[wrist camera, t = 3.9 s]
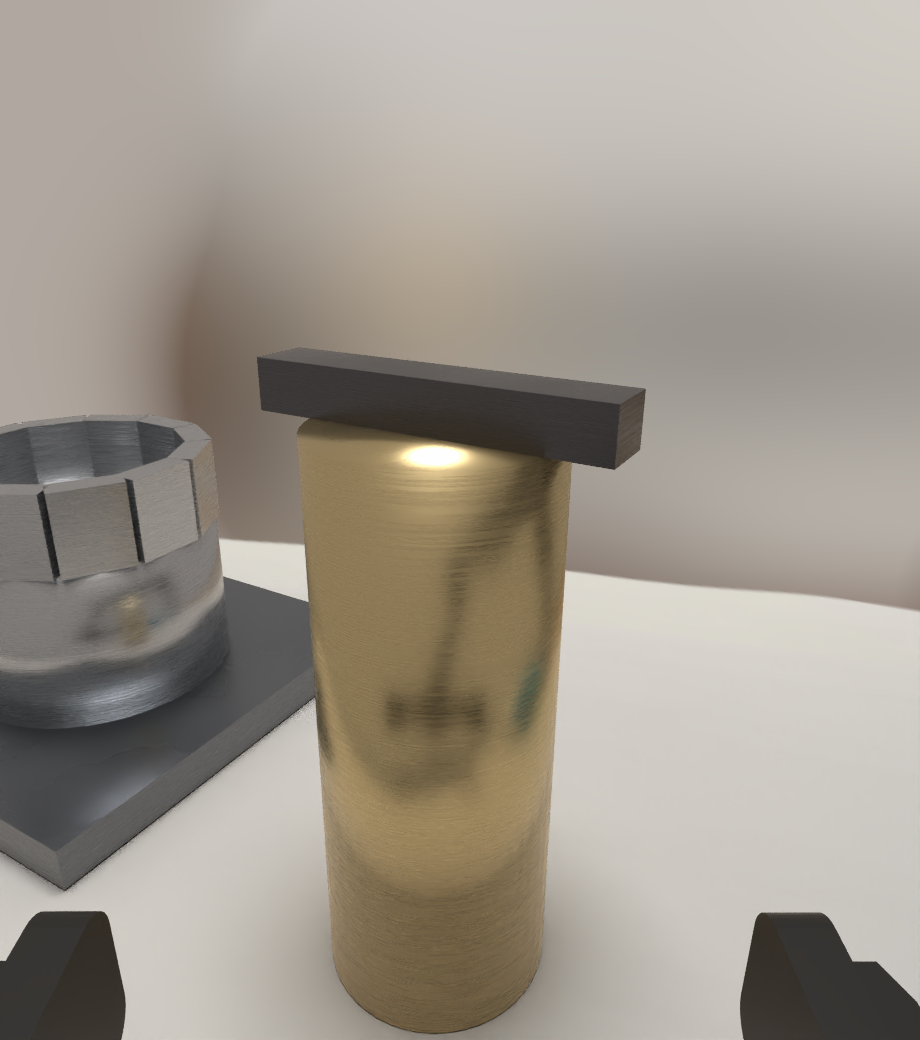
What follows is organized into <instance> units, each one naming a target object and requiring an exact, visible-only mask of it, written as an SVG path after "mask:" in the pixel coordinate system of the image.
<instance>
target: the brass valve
mask: <svg viewBox="0 0 920 1040" xmlns="http://www.w3.org/2000/svg"><path fill="white" fill-rule="evenodd" d="M257 363H258V375H259V386H260V398H261V409H262V410H264V411H270V412H277V413H282V414H288V415H294V416H300V417H306V418H310V419H308V420H307V421H305V422H304V423H303V424H302V425H301V426H300V427H299V429H298V431H297V439H298V452H299V468H300V482H301V497H302V512H303V526H304V541H305V555H306V570H307V584H308V599H309V613H310V628H311V642H312V657H313V671H314V686H315V700H316V715H317V729H318V744H319V758H320V773H321V787H322V802H323V816H324V831H325V845H326V860H327V874H328V889H329V903H330V918H331V932H332V947H333V958H334V962H335V967H336V970H337V972H338V975H339V977H340V980H341V982H342V983H343V985H344V987H345V988H346V990H347V991H348V993H349V994H350V995H351V996H352V997H353V999H354V1000H355V1001H356V1002H357V1003H358V1004H359V1005H360V1006H361V1007H363V1008H364V1009H365V1010H366V1011H367V1012H369V1013H370V1014H372V1015H373V1016H375V1017H376V1018H378V1019H380V1020H382V1021H384V1022H386V1023H388V1024H390V1025H393V1026H396V1027H400V1028H403V1029H406V1030H411V1031H416V1032H426V1033H445V1032H454V1031H459V1030H464V1029H468V1028H471V1027H474V1026H477V1025H480V1024H482V1023H484V1022H487V1021H489V1020H491V1019H493V1018H495V1017H496V1016H498V1015H499V1014H501V1013H502V1012H504V1011H505V1010H507V1009H508V1008H509V1007H510V1006H511V1005H512V1004H514V1003H515V1002H516V1001H517V1000H518V999H519V997H520V996H521V995H522V994H523V993H524V992H525V990H526V989H527V987H528V986H529V984H530V983H531V981H532V979H533V977H534V975H535V973H536V970H537V968H538V964H539V961H540V957H541V949H542V936H543V920H544V904H545V888H546V872H547V856H548V839H549V823H550V807H551V791H552V775H553V759H554V743H555V726H556V710H557V694H558V678H559V662H560V646H561V630H562V613H563V597H564V581H565V565H566V548H567V532H568V515H569V500H570V484H571V468H572V463H578V464H584V465H590V466H596V467H602V468H608V469H614V470H615V469H616V468H617V467H619V466H620V465H621V464H622V463H624V462H625V461H626V460H628V459H629V458H630V457H631V456H633V455H634V454H635V453H637V452H638V451H639V450H640V445H641V434H642V423H643V412H644V402H645V391H646V389H644V388H635V387H627V386H618V385H609V384H602V383H592V382H585V381H575V380H568V379H560V378H551V377H542V376H534V375H526V374H518V373H509V372H500V371H492V370H484V369H475V368H467V367H459V366H450V365H442V364H433V363H425V362H417V361H408V360H399V359H391V358H383V357H374V356H366V355H357V354H349V353H341V352H332V351H324V350H315V349H307V348H295V349H291V350H286V351H282V352H277V353H273V354H269V355H265V356H260V357H257Z"/></svg>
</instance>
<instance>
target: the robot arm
mask: <svg viewBox="0 0 920 1040" xmlns="http://www.w3.org/2000/svg"><path fill="white" fill-rule="evenodd" d="M125 1008H126V1003H125V993H124V989H123V984H122V979H121V974H120V970H119V965H118V960H117V956H116V951H115V946H114V941H113V937H112V932H111V927H110V923H109V919H108V917H107V915H106V914H105V913H104V912H102V911H55V912H39V913H37V914H36V915H35V916H34V917H33V918H32V919H31V920H30V921H29V922H28V924H27V926H26V927H25V929H24V930H23V932H22V934H21V936H20V937H19V939H18V941H17V942H16V944H15V946H14V948H13V949H12V951H11V953H10V954H9V956H8V958H7V960H6V961H0V1040H121V1038H122V1033H123V1028H124V1021H125ZM740 1016H741V1026H742V1033H743V1038H744V1040H920V1007H919V1005H918V1003H917V1002H916V1001H915V1000H914V999H913V998H912V997H911V996H910V995H909V994H908V993H907V992H906V991H905V990H904V989H903V988H902V987H901V986H900V985H899V984H898V983H897V982H896V981H895V980H894V979H893V978H892V977H891V976H890V975H889V974H888V973H887V972H886V971H885V970H884V969H883V968H882V967H881V966H880V965H879V964H878V963H877V962H853V961H852V960H851V958H850V956H849V954H848V952H847V950H846V948H845V946H844V944H843V942H842V940H841V938H840V936H839V934H838V933H837V931H836V929H835V927H834V925H833V923H832V922H831V921H830V919H829V918H828V917H827V916H826V915H824V914H823V913H760V914H759V915H758V916H757V918H756V921H755V925H754V930H753V935H752V941H751V946H750V951H749V956H748V961H747V966H746V972H745V977H744V982H743V987H742V992H741V999H740Z"/></svg>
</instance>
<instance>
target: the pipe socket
mask: <svg viewBox="0 0 920 1040" xmlns="http://www.w3.org/2000/svg"><path fill="white" fill-rule="evenodd" d="M218 514H219V503H218V494H217V485H216V476H215V467H214V458H213V449H212V440H211V438H210V437H209V436H208V435H207V434H206V433H205V432H204V431H203V430H202V429H201V428H200V427H199V426H197V425H196V424H193V423H190V422H185V421H179V420H174V419H169V418H163V417H157V416H149V417H148V415H90V416H88V417H86V416H85V415H82V416H72V417H64V418H55V419H46V420H37V421H28V422H22V424H17V423H14V424H10V425H6V426H2V427H0V851H2V852H4V853H5V854H7V855H9V856H10V857H12V858H13V859H15V860H17V861H18V862H20V863H21V864H23V865H25V866H26V867H28V868H30V869H31V870H33V871H34V872H36V873H38V874H39V875H41V876H42V877H44V878H46V879H47V880H49V881H51V882H52V883H54V884H55V885H57V886H59V887H60V888H62V889H63V890H65V889H67V888H68V887H69V886H71V885H72V884H73V883H74V882H76V881H77V880H78V879H80V878H81V877H82V876H83V875H85V874H86V873H87V872H89V871H90V870H91V869H92V868H94V867H95V866H96V865H98V864H99V863H100V862H102V861H103V860H104V859H105V858H107V857H108V856H109V855H111V854H112V853H113V852H114V851H116V850H117V849H118V848H120V847H121V846H122V845H123V844H125V843H126V842H127V841H129V840H130V839H131V838H133V837H134V836H135V835H136V834H138V833H139V832H140V831H142V830H143V829H144V828H145V827H147V826H148V825H149V824H151V823H152V822H153V821H154V820H156V819H157V818H158V817H160V816H161V815H162V814H163V813H165V812H166V811H167V810H169V809H170V808H171V807H173V806H174V805H175V804H176V803H178V802H179V801H180V800H182V799H183V798H184V797H185V796H187V795H188V794H189V793H191V792H192V791H193V790H194V789H196V788H197V787H198V786H200V785H201V784H202V783H203V782H205V781H206V780H207V779H209V778H210V777H211V776H213V775H214V774H215V773H216V772H218V771H219V770H220V769H222V768H223V767H224V766H225V765H227V764H228V763H229V762H231V761H232V760H233V759H234V758H236V757H237V756H238V755H240V754H241V753H242V752H243V751H245V750H246V749H247V748H249V747H250V746H251V745H253V744H254V743H255V742H256V741H258V740H259V739H260V738H262V737H263V736H264V735H265V734H267V733H268V732H269V731H271V730H272V729H273V728H274V727H276V726H277V725H278V724H280V723H281V722H282V721H283V720H285V719H286V718H287V717H289V716H290V715H291V714H293V713H294V712H295V711H296V710H298V709H299V708H300V707H302V706H303V705H304V704H305V703H307V702H308V701H309V700H311V699H312V698H313V697H314V696H315V686H314V671H313V657H312V642H311V628H310V613H309V602H306V601H303V600H299V599H296V598H293V597H289V596H286V595H283V594H279V593H276V592H273V591H269V590H266V589H263V588H260V587H256V586H253V585H250V584H246V583H243V582H240V581H236V580H233V579H230V578H226V577H223V573H222V564H221V555H220V546H219V538H218V529H217V520H216V517H217V516H218Z"/></svg>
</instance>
